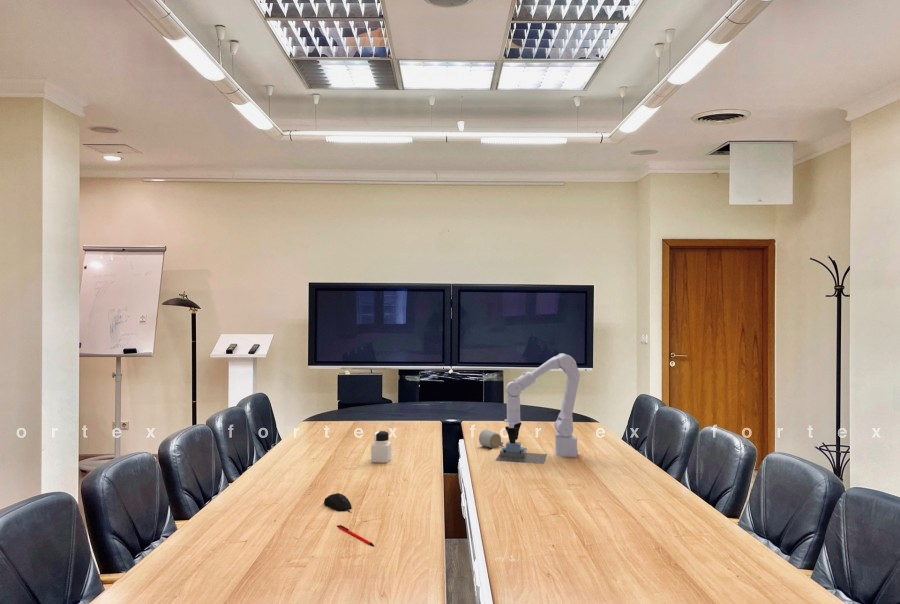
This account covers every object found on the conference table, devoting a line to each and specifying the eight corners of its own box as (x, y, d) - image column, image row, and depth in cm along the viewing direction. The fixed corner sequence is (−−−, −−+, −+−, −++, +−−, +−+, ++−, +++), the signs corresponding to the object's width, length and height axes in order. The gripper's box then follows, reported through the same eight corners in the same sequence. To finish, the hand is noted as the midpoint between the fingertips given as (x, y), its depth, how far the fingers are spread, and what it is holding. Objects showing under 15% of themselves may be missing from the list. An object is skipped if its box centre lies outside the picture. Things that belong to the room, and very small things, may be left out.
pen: (338, 526, 166) (339, 523, 166) (375, 547, 152) (375, 543, 152) (336, 527, 165) (336, 523, 165) (372, 548, 151) (373, 544, 151)
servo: (524, 454, 245) (524, 440, 245) (523, 456, 241) (523, 442, 241) (503, 452, 247) (503, 439, 247) (502, 455, 243) (502, 441, 243)
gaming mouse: (342, 516, 174) (343, 503, 174) (320, 504, 186) (320, 491, 186) (360, 512, 178) (360, 499, 179) (337, 499, 190) (337, 487, 190)
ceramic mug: (490, 450, 255) (491, 433, 256) (478, 446, 262) (478, 430, 262) (507, 447, 262) (507, 430, 262) (494, 443, 268) (494, 427, 269)
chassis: (547, 456, 245) (547, 449, 245) (543, 465, 230) (543, 458, 230) (501, 453, 250) (501, 446, 250) (495, 462, 235) (495, 455, 235)
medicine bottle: (391, 458, 241) (391, 430, 241) (387, 462, 234) (387, 433, 234) (374, 458, 242) (374, 429, 242) (370, 462, 235) (370, 433, 235)
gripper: (506, 406, 253) (507, 437, 252) (501, 412, 238) (501, 444, 238) (522, 407, 251) (522, 438, 251) (518, 413, 237) (518, 445, 237)
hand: (513, 441), depth 244 cm, fingers open, 7 cm apart
